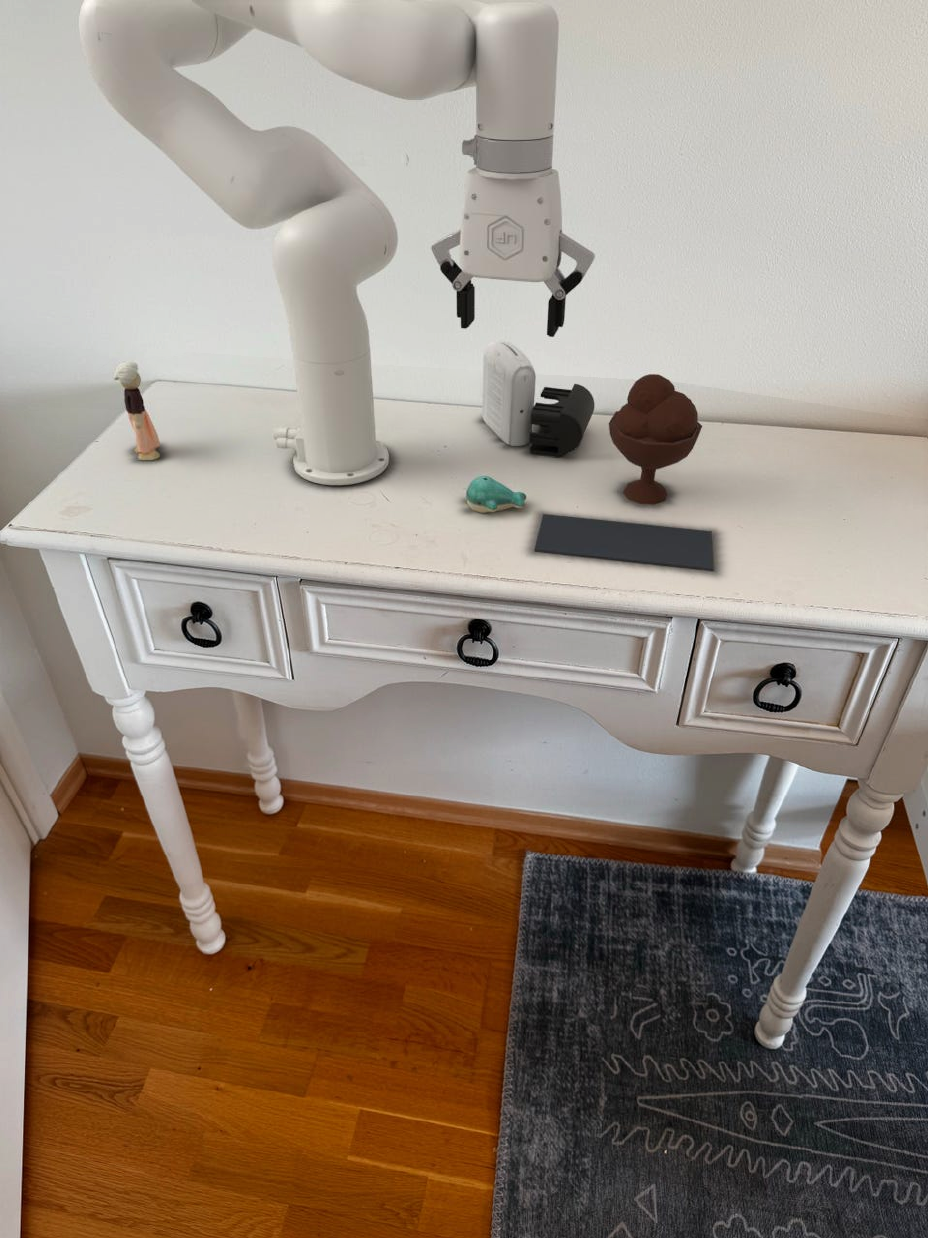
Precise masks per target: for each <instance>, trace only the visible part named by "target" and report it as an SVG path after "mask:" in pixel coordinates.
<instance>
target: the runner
mask: <svg viewBox="0 0 928 1238" xmlns="http://www.w3.org/2000/svg"><path fill="white" fill-rule="evenodd" d="M539 525H540V526H539V530H538V533H537V537H536V542H535V546H534V549H533V550H534V552H537V553H546V554H553V555H554V554H556V555H565V556H573V557H581V558H592V559H602V560H608V561H609V560H610V561H619V562H629V563H635V564H636V563H638V564H645V565H654V566H664V567H673V568H684V569H693V570H701V571H711V572H714V553H713V552H714V548H713V531H712V530H704V529H703V530H702V529H693V528H685V527H684V528H683V527H674V526H664V525H655V524H645V523H636V522H635V523H634V522H625V521H615V520H606V519H597V518H587V517H586V518H585V517H577V516H565V515H557V514H549V513H548V514H547V513H543V514H542V517H541V521H540V524H539Z"/></svg>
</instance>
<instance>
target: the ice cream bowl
mask: <svg viewBox="0 0 928 1238" xmlns="http://www.w3.org/2000/svg"><path fill="white" fill-rule="evenodd" d="M675 388H676V387H675V385H674V384H673V383H672V381H670V379H668V378H667V377H664V376H663V375H660V374H658V373H657V374H654V373H651V374H646V375H643V376H641V377H640V378H638V379H637V380H635V381H634V383H633V385H632V386H631V388H630V389H629V391H628V393H627V394H628V395H627V398H626V399H627V402H626V403H625V404H624V405H622V406H621V407H620V409H619V410H617V411H615V412H614V413H613V415H612V417H611V418H610V420H609V422H608V430H609V431H608V433H609V436H610V439H611V441H612V444H613V446H615V448H617V450H618V452H620V454H621V455H622V456H623V457H624V458H625V459H626V460H627V462H629V463H631V464H633V465H634V466H637V467H640V468H641V473H640V478H639V479H636V480H633V481H630V482H627V484H626V486H625V488H624V490H623V494H624V496H625V497H626V498H627V500H629V501H632V502H635V503H637V504H640V505H656V504H660V503H662V502H665V501H666V499H667V496H668V490H667V489H666V488H665V486H664V485H663V484H662V483H660V482H658V481H657V480H655V479H656V471H657V470H660V469H664V468H667V467H670V466H672V465H675V464H678V463H679V462H681V461H682V460H684V459H686V458H688V456H689V455H690V454H691V453H692V451H693V450H694V447H695V445H696V443H697V441H698V438H699V435H700V433H701V431H702V428H703V425H702V424H701V423H700V422H699V418H698V417H699V414H698V410H697V407H696V405H695V404H694V403H693V401H692V399H691V398H689V397H688V396H687V395H686V394H685V393H683V392H680V391H677V390H676V389H675Z"/></svg>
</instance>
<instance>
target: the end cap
mask: <svg viewBox="0 0 928 1238" xmlns="http://www.w3.org/2000/svg"><path fill="white" fill-rule="evenodd" d="M540 398H543V399H546V400H551V401H552V400H554V401H558V402H555V403H545V402H544V403H543V402H534V407H533V409H532V411H531V420H530V424H532V425H533V426H538V427H539V430H538V431H537V432H536V431H535V432H534V431H532V432H530V440H529V442H528V444H529V445H530V444H531V445H530V447H529V453H530V454H532V455H538V456H545V457H550V458H551V457H553V458H563V457H565V456H567V455H568V454H570V453H572V452H574V451H575V450H577V449H578V447H579V446H580V444H581V443H582V440H583V437H584V436H585V433H586V431H587V428H588V426H589V424H590V421H591V418H592V416H593V414H594V412H595V399H594V397H593V395H592V392H591V391H589V390H588V388H587V387H585V386H583V385H582V384H579V383H574V384H573V386H572V388H571V389H569V388H567V389H566V388H559V387H557V388H556V387H549V386H544V387H543V389H542V391H541V393H540Z"/></svg>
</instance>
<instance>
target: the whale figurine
mask: <svg viewBox="0 0 928 1238" xmlns="http://www.w3.org/2000/svg"><path fill="white" fill-rule="evenodd" d="M526 499H527V494H526V493H524V492H522V491H516V492H515V491H513V490H512V489H511V488H509V487H508V486H506V485H505V484H502V482H499V481H498V480H496V479H494V478H493V477H491V476H488V475H480V476H477V477H476V478H474V479H472V480H471V481H470V482H469V484H468V486H467V487H466V493H465V500H466V504H467V506H468V507H469V508H470V509H472V511H475V512H477V513H483V514H484V513H496V512H498V511H503V510H507V509H510V508H516V509H523V508H525V506H526V504H525V500H526Z"/></svg>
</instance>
